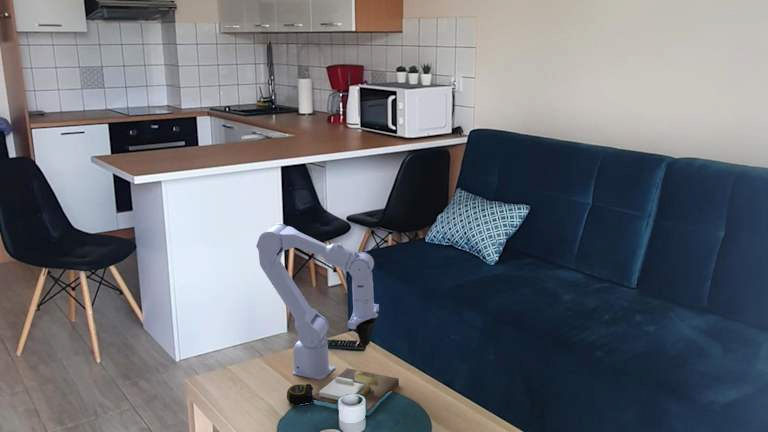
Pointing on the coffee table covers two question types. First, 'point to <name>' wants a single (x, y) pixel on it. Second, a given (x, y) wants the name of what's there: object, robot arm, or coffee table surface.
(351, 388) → the lid
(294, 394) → the tape measure
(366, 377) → the t-key
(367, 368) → the coffee table surface
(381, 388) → the lock board
